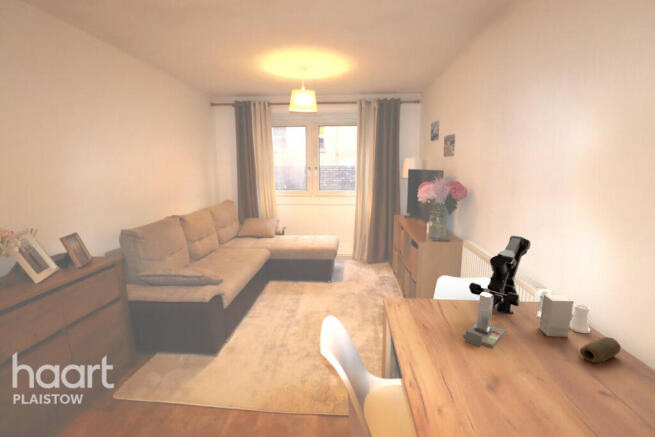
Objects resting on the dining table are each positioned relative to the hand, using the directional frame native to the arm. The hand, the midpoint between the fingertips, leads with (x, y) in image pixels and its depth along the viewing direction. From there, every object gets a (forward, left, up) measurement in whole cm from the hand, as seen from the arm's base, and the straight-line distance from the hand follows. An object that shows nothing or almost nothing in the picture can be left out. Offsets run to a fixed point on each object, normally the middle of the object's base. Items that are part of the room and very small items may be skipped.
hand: (487, 311), depth 130 cm
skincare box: (-3, +27, -8) cm, 29 cm away
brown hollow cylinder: (+13, +34, -8) cm, 38 cm away
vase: (-9, +40, -8) cm, 42 cm away
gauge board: (+5, -3, -8) cm, 10 cm away
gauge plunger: (+4, 0, -7) cm, 8 cm away
